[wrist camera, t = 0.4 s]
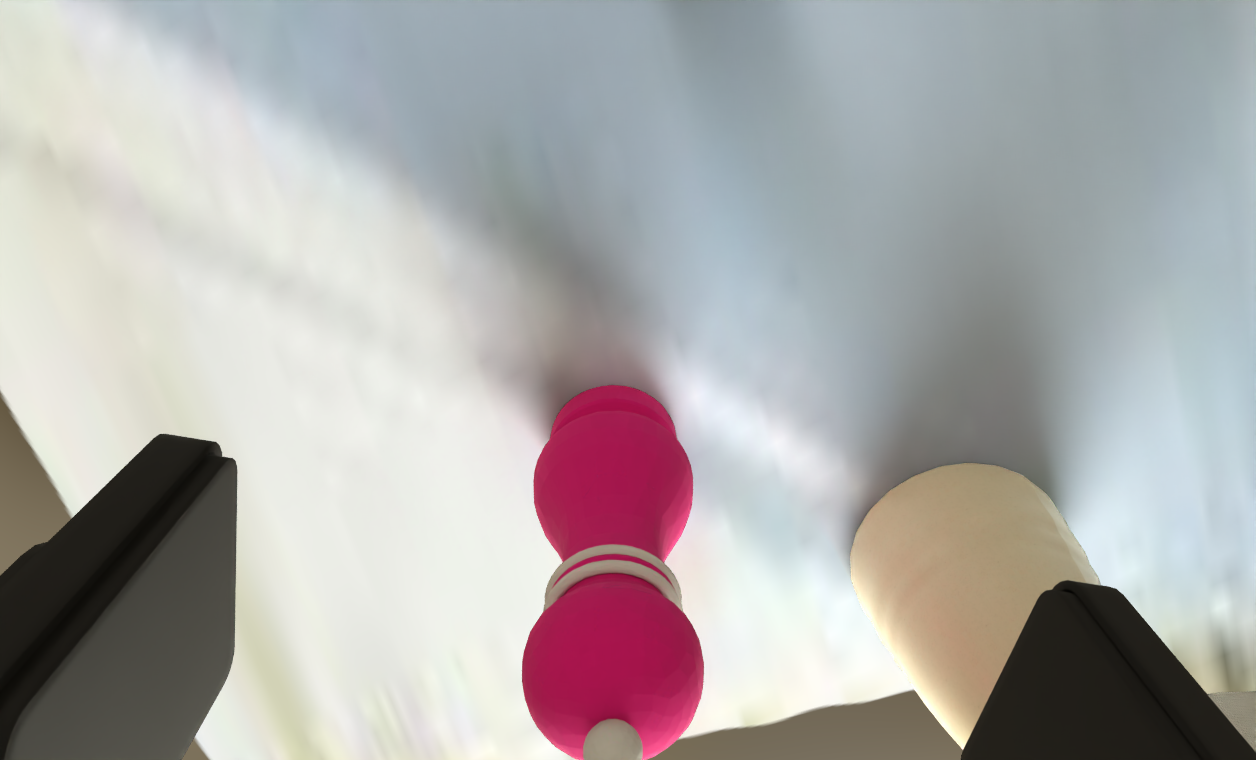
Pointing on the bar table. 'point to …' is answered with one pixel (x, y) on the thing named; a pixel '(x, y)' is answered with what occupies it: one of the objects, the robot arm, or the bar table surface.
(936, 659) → the lamp
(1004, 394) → the bar table surface
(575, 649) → the pepper mill
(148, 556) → the robot arm
